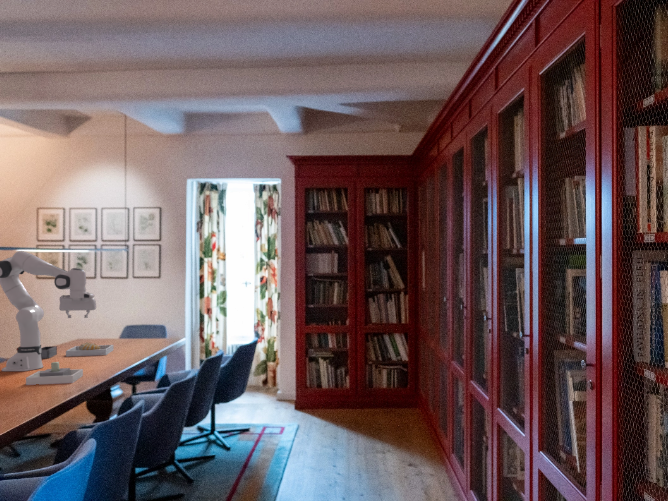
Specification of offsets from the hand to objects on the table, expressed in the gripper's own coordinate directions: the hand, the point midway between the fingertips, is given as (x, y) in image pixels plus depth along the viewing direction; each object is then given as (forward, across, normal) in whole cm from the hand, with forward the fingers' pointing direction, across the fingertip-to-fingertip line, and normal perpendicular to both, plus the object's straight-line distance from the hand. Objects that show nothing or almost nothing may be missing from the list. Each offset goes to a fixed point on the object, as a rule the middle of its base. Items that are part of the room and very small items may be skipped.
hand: (77, 317), depth 318 cm
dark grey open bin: (+33, -40, +63) cm, 82 cm away
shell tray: (+33, -13, +71) cm, 80 cm away
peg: (+32, -6, -19) cm, 38 cm away
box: (+33, -6, -19) cm, 39 cm away
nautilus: (+33, -13, +71) cm, 79 cm away
